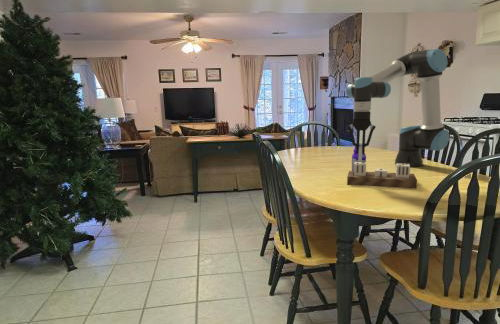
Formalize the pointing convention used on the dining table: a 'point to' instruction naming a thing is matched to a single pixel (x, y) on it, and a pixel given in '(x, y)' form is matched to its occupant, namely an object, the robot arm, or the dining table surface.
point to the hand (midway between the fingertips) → (360, 160)
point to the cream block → (380, 172)
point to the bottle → (356, 155)
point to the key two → (360, 168)
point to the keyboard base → (382, 180)
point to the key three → (402, 170)
